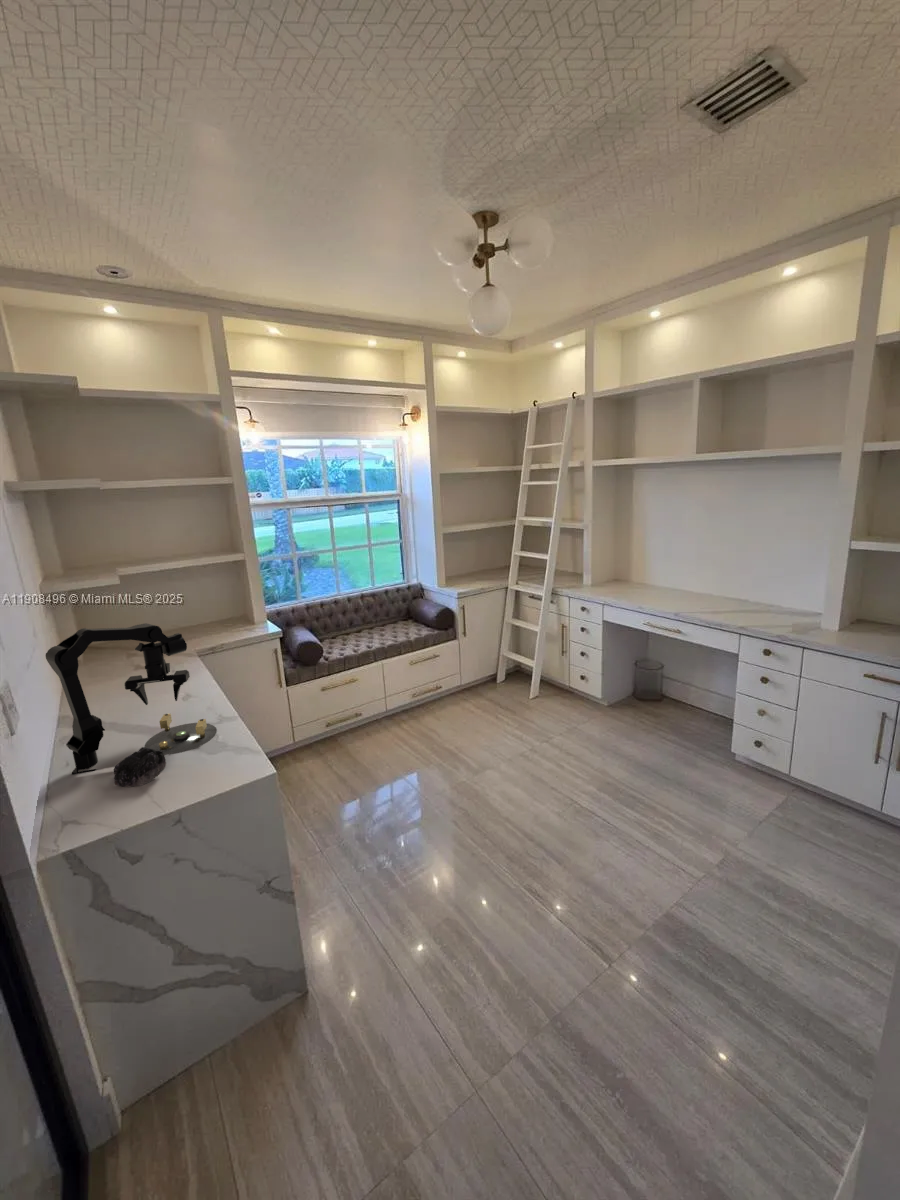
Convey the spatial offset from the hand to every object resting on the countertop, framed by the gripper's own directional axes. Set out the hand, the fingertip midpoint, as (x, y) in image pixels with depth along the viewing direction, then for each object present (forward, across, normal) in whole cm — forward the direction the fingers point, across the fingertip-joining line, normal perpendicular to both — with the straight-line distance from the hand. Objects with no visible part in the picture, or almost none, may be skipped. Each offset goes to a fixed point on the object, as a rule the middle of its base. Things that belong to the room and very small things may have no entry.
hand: (161, 702), depth 174 cm
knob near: (+11, -13, +9) cm, 19 cm away
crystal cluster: (+12, +1, +27) cm, 30 cm away
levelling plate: (+12, -6, +7) cm, 15 cm away
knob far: (+11, 0, 0) cm, 11 cm away
